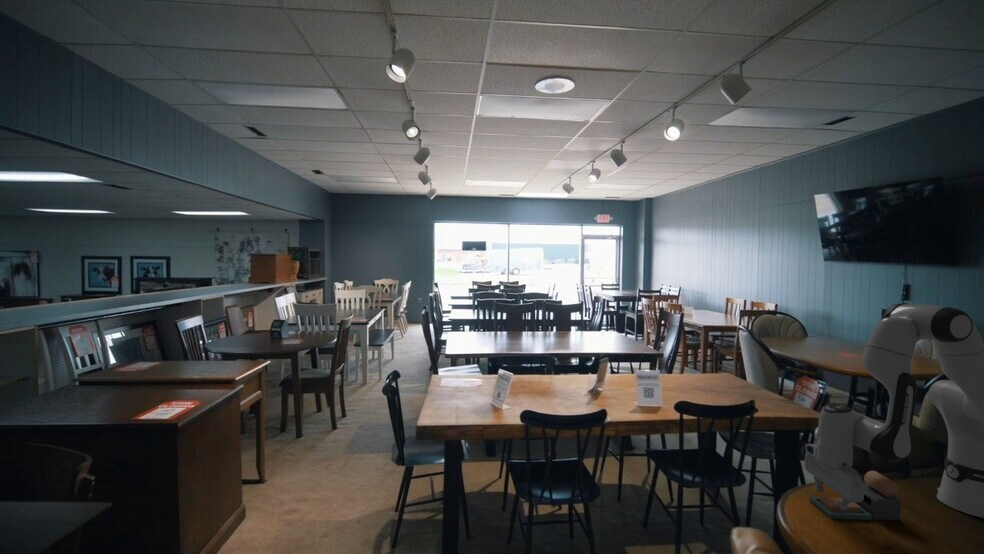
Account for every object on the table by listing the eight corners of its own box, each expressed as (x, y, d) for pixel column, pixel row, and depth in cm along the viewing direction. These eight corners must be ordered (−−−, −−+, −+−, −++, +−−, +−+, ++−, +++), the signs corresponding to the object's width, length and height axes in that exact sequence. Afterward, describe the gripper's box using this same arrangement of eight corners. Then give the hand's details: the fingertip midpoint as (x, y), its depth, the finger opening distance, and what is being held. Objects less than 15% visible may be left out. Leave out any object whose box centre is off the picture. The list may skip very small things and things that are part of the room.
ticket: (848, 504, 140) (848, 498, 140) (861, 513, 135) (861, 507, 135) (819, 503, 141) (820, 497, 141) (831, 512, 136) (831, 506, 136)
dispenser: (874, 503, 142) (877, 469, 142) (899, 520, 133) (902, 483, 133) (849, 502, 142) (852, 468, 142) (872, 519, 133) (875, 482, 133)
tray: (847, 503, 142) (848, 498, 142) (871, 520, 133) (871, 515, 133) (809, 501, 142) (810, 497, 142) (830, 518, 133) (831, 513, 133)
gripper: (872, 473, 127) (868, 520, 128) (820, 443, 147) (818, 483, 148) (850, 473, 127) (846, 519, 128) (801, 442, 147) (799, 482, 148)
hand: (830, 499), depth 138 cm, fingers open, 8 cm apart
